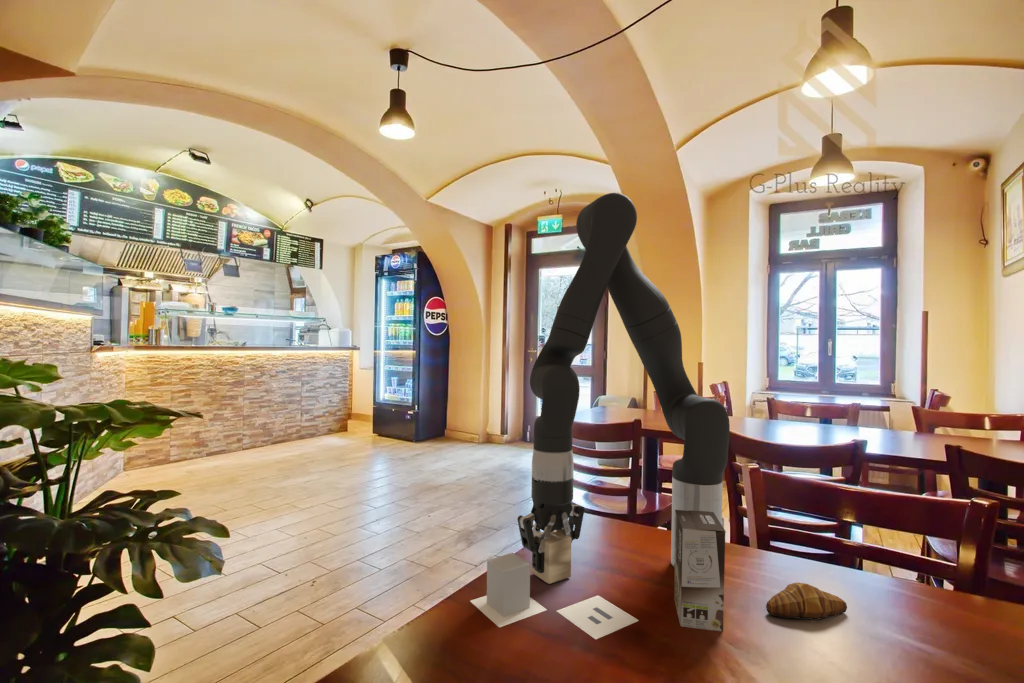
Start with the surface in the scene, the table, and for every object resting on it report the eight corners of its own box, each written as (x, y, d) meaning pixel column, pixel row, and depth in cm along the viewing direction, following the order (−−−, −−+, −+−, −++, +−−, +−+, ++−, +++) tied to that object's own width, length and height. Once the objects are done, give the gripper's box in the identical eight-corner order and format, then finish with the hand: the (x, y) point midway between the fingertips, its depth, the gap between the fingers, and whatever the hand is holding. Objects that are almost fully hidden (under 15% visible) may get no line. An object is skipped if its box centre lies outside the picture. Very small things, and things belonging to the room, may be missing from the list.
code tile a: (597, 602, 85) (597, 595, 85) (638, 628, 78) (639, 620, 78) (556, 618, 80) (556, 610, 80) (595, 647, 73) (595, 639, 73)
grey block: (512, 594, 85) (512, 552, 85) (529, 607, 81) (530, 564, 81) (486, 602, 82) (487, 559, 82) (503, 617, 78) (503, 571, 78)
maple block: (553, 566, 95) (553, 528, 95) (570, 576, 91) (571, 537, 91) (531, 572, 92) (532, 534, 92) (548, 584, 88) (549, 544, 88)
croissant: (829, 601, 87) (829, 572, 87) (860, 623, 80) (861, 592, 80) (754, 604, 85) (755, 575, 85) (780, 628, 79) (780, 596, 78)
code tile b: (515, 593, 88) (515, 586, 88) (547, 617, 80) (547, 609, 80) (469, 608, 83) (469, 600, 83) (499, 635, 75) (499, 627, 75)
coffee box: (725, 640, 75) (726, 531, 75) (679, 634, 76) (681, 527, 76) (713, 607, 84) (715, 510, 84) (672, 603, 85) (674, 507, 85)
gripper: (569, 464, 99) (568, 551, 99) (507, 474, 91) (506, 569, 91) (596, 472, 92) (594, 565, 93) (532, 485, 84) (531, 586, 85)
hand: (551, 567), depth 92 cm, fingers closed on maple block, 5 cm apart
